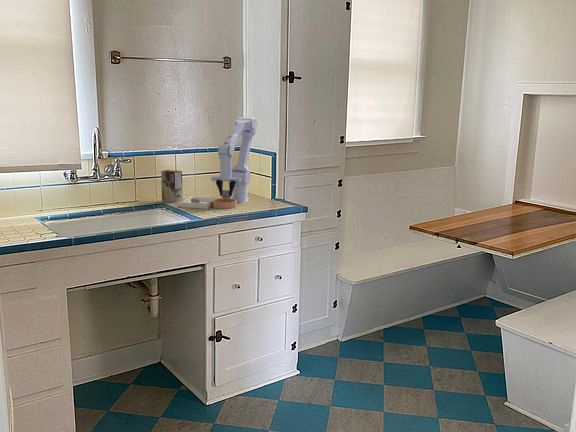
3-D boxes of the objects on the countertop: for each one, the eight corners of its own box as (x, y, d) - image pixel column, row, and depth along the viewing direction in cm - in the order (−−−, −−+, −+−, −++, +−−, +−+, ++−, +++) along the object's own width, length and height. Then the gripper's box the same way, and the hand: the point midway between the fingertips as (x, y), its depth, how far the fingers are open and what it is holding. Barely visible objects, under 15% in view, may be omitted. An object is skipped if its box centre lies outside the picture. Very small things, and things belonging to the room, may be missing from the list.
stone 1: (192, 205, 305) (192, 197, 305) (200, 205, 305) (200, 198, 304) (189, 206, 301) (189, 199, 301) (198, 207, 301) (198, 199, 300)
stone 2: (223, 196, 308) (222, 189, 307) (231, 197, 307) (231, 190, 307) (220, 198, 304) (220, 191, 303) (229, 198, 303) (229, 191, 303)
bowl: (216, 204, 311) (216, 197, 310) (239, 205, 309) (239, 198, 308) (209, 209, 300) (209, 202, 299) (233, 210, 298) (233, 203, 297)
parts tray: (192, 201, 317) (192, 196, 317) (217, 203, 315) (217, 197, 314) (180, 208, 300) (180, 202, 299) (207, 209, 298) (207, 203, 297)
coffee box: (183, 201, 317) (182, 170, 313) (175, 203, 311) (174, 172, 308) (169, 200, 321) (168, 169, 317) (161, 202, 315) (160, 170, 312)
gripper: (209, 168, 300) (209, 196, 303) (238, 170, 298) (238, 197, 300) (213, 167, 307) (213, 193, 310) (241, 168, 304) (241, 195, 307)
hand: (226, 195), depth 306 cm, fingers closed on stone 2, 4 cm apart
